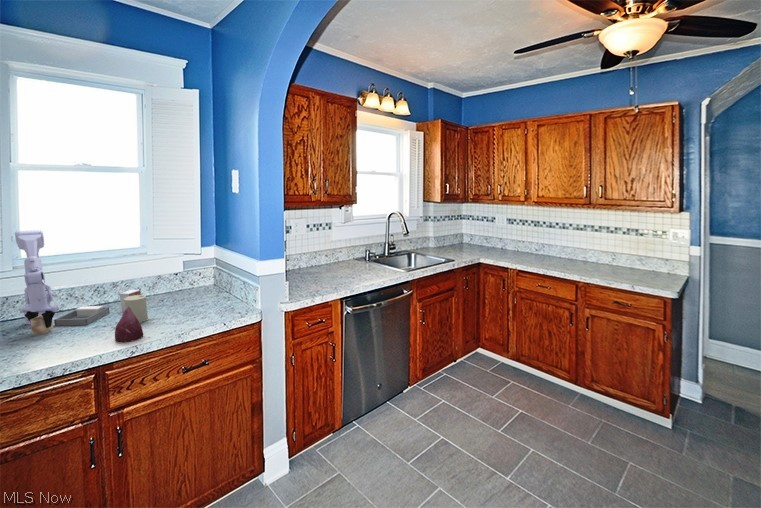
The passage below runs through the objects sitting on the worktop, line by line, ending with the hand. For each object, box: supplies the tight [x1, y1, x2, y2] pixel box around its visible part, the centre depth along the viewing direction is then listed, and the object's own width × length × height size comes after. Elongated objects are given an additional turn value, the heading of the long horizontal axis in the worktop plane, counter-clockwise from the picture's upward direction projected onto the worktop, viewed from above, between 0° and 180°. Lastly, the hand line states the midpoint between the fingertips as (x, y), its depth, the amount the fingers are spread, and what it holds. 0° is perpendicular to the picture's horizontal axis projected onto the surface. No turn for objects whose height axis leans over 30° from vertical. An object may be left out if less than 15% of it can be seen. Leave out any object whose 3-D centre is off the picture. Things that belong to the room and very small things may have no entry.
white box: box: [74, 305, 105, 317], centre depth 198 cm, size 10×5×4 cm, turn 95°
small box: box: [119, 289, 142, 313], centre depth 207 cm, size 8×6×10 cm
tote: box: [53, 306, 110, 327], centre depth 193 cm, size 14×18×4 cm
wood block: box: [30, 315, 54, 335], centre depth 178 cm, size 4×6×7 cm
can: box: [124, 294, 149, 323], centre depth 193 cm, size 9×9×12 cm
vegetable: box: [114, 306, 144, 344], centre depth 172 cm, size 10×10×15 cm
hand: (42, 327), depth 178 cm, fingers open, 5 cm apart
